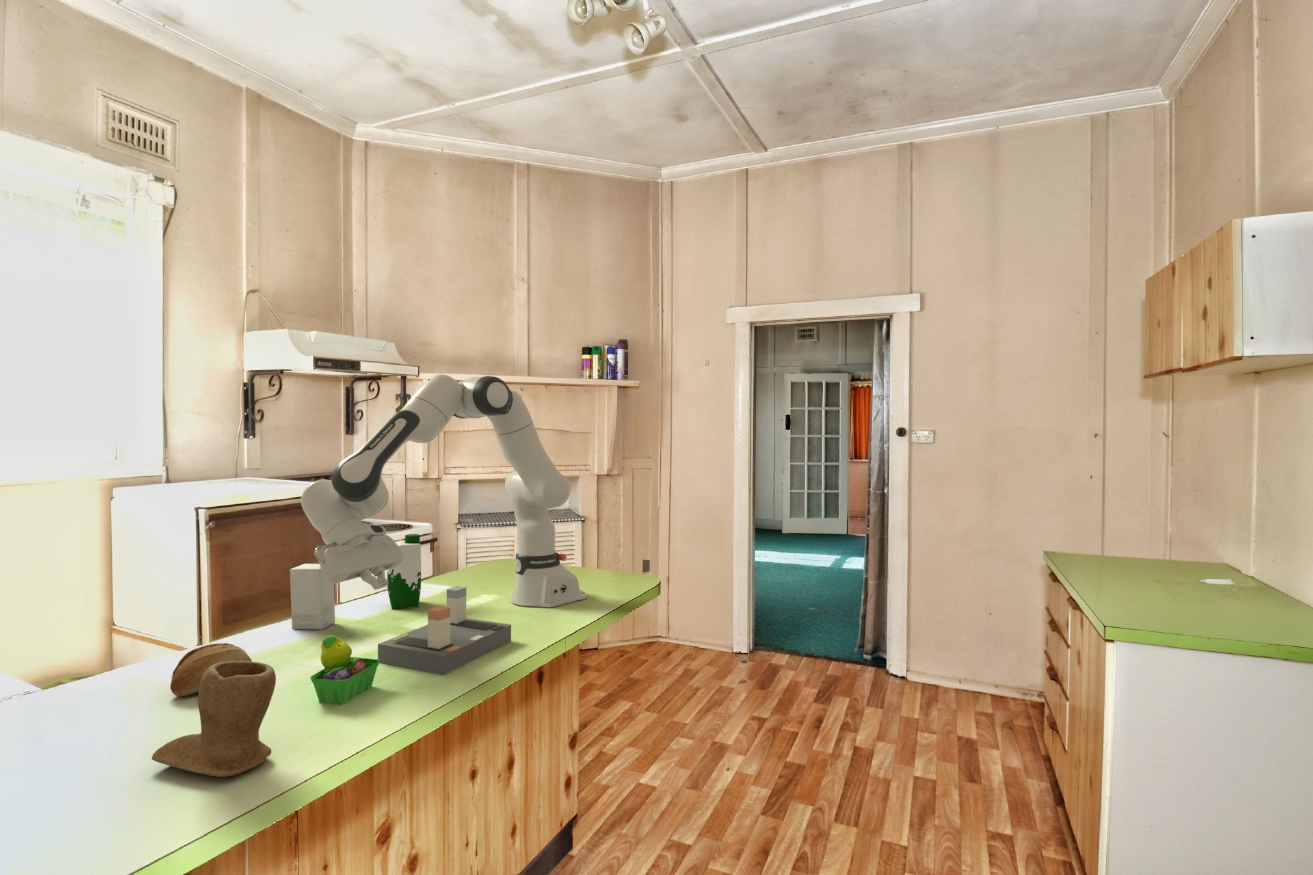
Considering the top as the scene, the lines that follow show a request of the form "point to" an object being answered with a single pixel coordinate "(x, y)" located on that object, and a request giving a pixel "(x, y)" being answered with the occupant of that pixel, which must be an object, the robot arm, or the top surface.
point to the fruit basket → (342, 672)
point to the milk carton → (406, 575)
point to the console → (463, 648)
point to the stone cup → (225, 721)
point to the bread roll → (202, 665)
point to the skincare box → (311, 598)
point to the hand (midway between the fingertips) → (382, 586)
